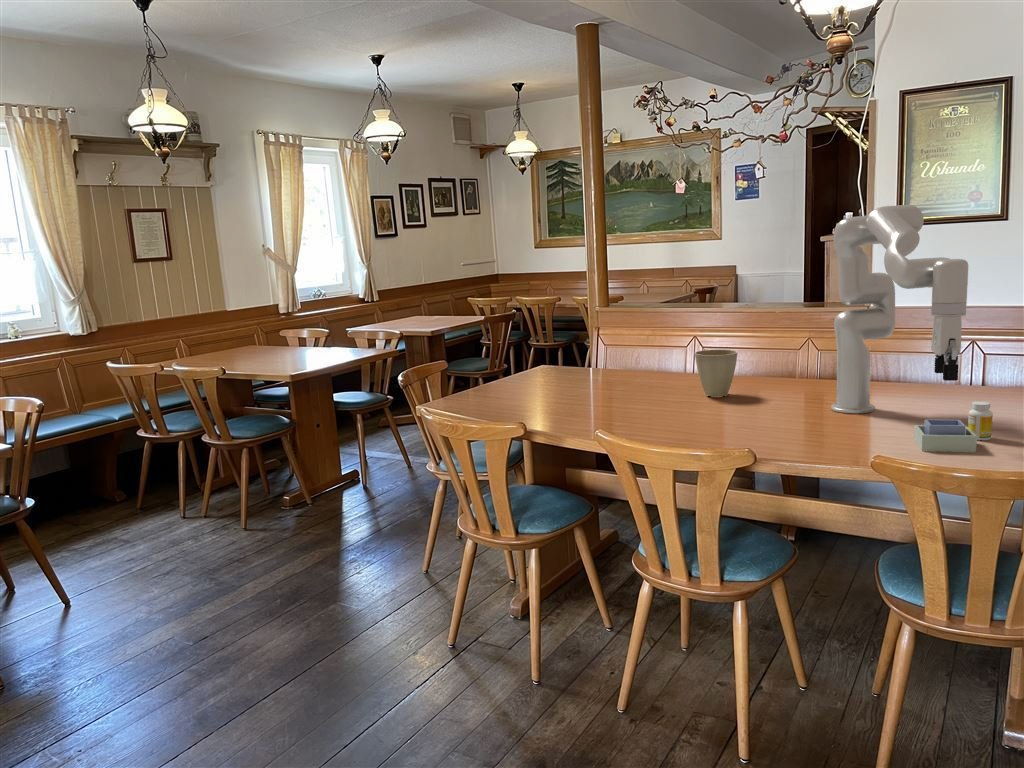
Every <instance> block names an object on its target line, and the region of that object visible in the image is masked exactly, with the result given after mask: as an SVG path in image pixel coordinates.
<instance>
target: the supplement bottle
mask: <svg viewBox="0 0 1024 768" xmlns="http://www.w3.org/2000/svg"><path fill="white" fill-rule="evenodd" d="M971 408H972V409H970V410H969V411H968V415H967V416H968V419H967V427H968V428H969V429H970V430H971V431H972V432H973V433H974V434H975V435H976V436H977V441H980V440H982V441H990V440H991V439H992V431H993V418H994V417H993V415H994V414H993V412H992V411H991V410H990V409H991V403H990V402H988V401H979V400H978V401H972V404H971Z"/></svg>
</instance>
